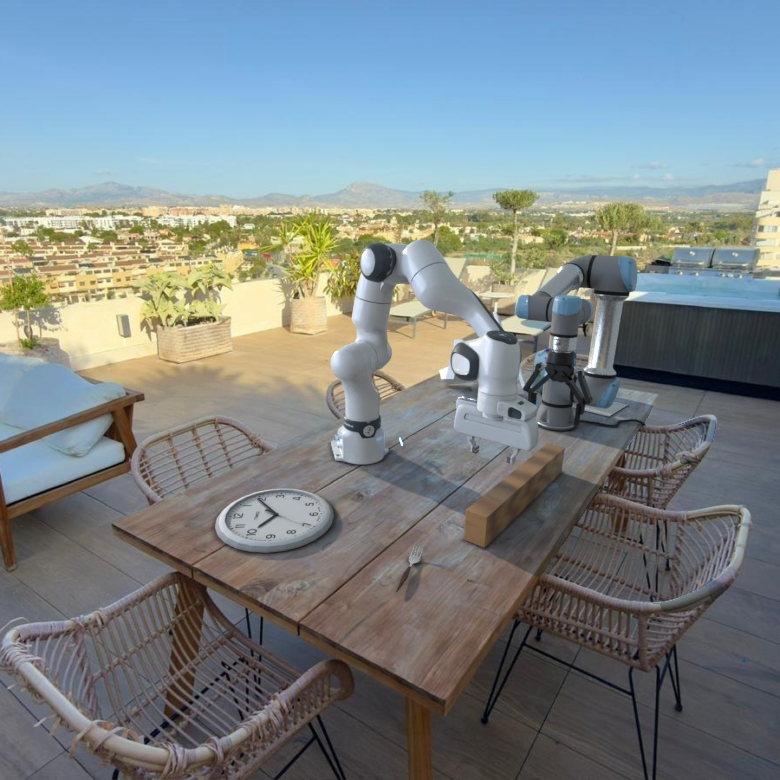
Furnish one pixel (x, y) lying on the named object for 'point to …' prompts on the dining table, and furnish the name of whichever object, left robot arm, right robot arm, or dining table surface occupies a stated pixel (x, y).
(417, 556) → the fork
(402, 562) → the dining table surface
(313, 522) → the wall clock
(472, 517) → the post
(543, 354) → the lunch box
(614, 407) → the invitation card
